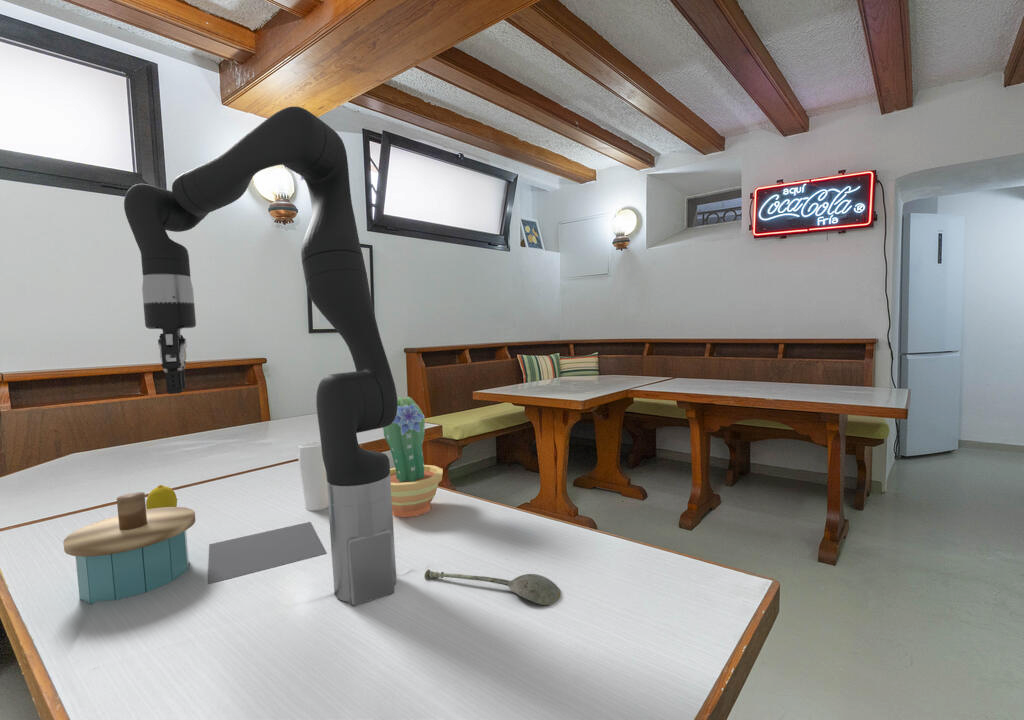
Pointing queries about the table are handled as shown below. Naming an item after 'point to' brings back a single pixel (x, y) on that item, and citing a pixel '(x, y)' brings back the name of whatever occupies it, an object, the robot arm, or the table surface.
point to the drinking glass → (313, 475)
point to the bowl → (131, 570)
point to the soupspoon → (516, 585)
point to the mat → (262, 551)
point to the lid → (129, 528)
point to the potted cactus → (410, 462)
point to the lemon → (161, 498)
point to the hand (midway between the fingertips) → (176, 391)
